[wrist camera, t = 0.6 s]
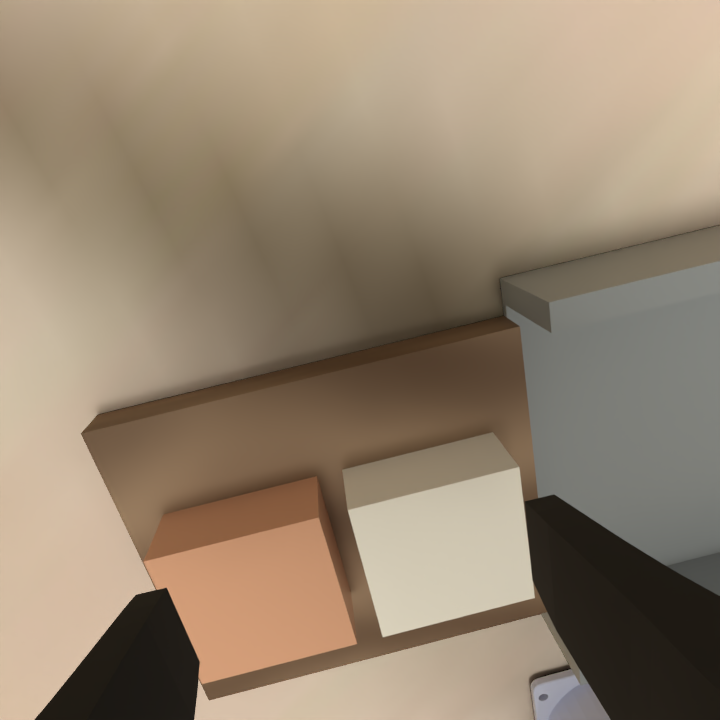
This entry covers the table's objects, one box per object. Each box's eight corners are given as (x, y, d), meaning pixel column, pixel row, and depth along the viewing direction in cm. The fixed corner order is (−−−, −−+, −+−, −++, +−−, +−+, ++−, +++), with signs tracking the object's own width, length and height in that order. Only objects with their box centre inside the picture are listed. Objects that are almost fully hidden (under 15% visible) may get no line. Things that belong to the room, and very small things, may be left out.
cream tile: (509, 552, 21) (535, 597, 19) (374, 587, 21) (382, 637, 19) (492, 432, 19) (519, 466, 17) (342, 469, 19) (347, 510, 17)
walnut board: (535, 586, 24) (550, 611, 23) (214, 669, 24) (208, 700, 22) (503, 315, 19) (519, 326, 18) (97, 415, 19) (80, 433, 17)
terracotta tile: (351, 592, 21) (357, 643, 19) (213, 628, 21) (201, 684, 19) (316, 476, 19) (318, 517, 17) (163, 514, 19) (143, 561, 16)
